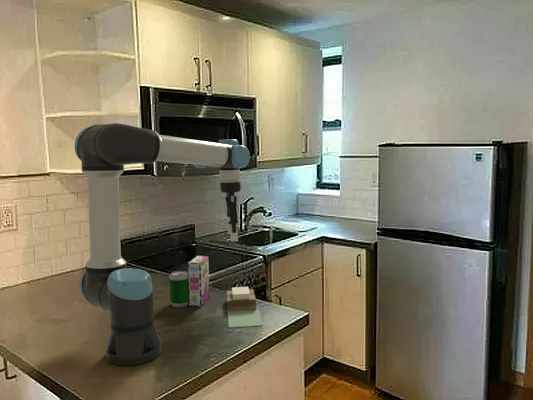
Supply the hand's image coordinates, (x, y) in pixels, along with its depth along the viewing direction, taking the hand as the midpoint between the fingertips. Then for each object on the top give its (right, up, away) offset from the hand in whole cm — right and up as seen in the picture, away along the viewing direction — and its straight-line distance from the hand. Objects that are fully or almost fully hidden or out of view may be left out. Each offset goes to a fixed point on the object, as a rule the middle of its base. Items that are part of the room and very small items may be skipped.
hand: (233, 237), depth 173 cm
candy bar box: (-12, -24, -1) cm, 27 cm away
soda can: (-19, -25, -4) cm, 31 cm away
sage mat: (+5, -26, -19) cm, 33 cm away
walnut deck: (+3, -24, -6) cm, 25 cm away
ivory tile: (+3, -20, -8) cm, 22 cm away
